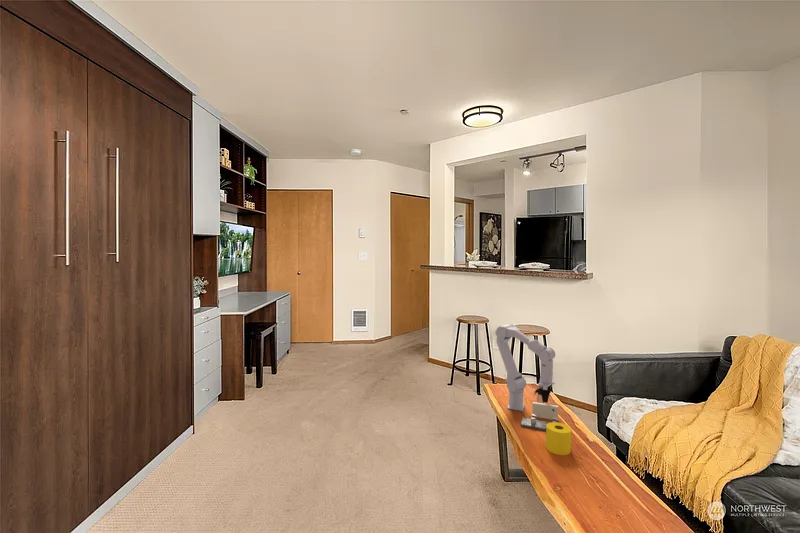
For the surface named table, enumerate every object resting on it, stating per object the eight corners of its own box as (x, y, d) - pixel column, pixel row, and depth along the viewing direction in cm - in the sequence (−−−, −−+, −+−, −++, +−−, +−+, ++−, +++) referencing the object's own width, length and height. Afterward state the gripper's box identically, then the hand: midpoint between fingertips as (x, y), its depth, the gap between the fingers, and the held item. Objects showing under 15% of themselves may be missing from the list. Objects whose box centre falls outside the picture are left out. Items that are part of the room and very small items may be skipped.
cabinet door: (532, 415, 204) (533, 401, 204) (557, 419, 200) (558, 405, 199) (532, 417, 202) (532, 403, 202) (557, 421, 197) (558, 407, 197)
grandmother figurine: (532, 405, 216) (533, 382, 215) (533, 403, 219) (534, 380, 219) (548, 408, 213) (549, 384, 212) (548, 405, 217) (549, 382, 216)
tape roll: (550, 454, 166) (550, 432, 166) (542, 442, 176) (543, 421, 176) (574, 455, 166) (575, 433, 165) (565, 443, 176) (566, 422, 175)
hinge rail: (522, 419, 199) (522, 411, 198) (566, 427, 191) (566, 418, 191) (520, 426, 191) (521, 417, 191) (566, 434, 184) (566, 425, 183)
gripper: (554, 378, 191) (553, 406, 192) (555, 369, 205) (554, 395, 206) (538, 376, 194) (537, 403, 195) (541, 367, 208) (540, 393, 208)
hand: (545, 399), depth 200 cm, fingers open, 7 cm apart
